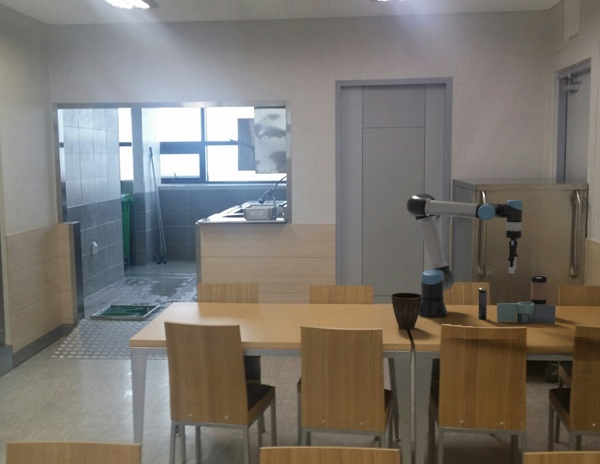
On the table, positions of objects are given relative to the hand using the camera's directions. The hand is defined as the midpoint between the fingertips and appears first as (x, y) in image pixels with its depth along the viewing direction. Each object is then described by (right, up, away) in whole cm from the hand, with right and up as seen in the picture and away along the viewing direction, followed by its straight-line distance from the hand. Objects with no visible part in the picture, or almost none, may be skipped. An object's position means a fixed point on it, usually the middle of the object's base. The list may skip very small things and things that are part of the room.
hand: (512, 271), depth 348 cm
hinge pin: (-15, -25, -1) cm, 29 cm away
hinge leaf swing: (-1, -25, -9) cm, 26 cm away
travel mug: (+16, -23, +7) cm, 29 cm away
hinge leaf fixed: (+9, -25, -11) cm, 28 cm away
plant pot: (-57, -27, -17) cm, 65 cm away
